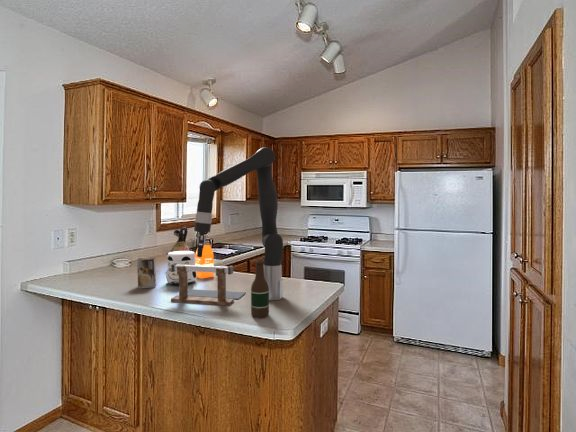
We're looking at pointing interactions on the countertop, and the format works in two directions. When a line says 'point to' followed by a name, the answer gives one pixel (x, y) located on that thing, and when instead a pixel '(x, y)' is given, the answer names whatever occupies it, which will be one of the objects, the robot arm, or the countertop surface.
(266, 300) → the beer bottle
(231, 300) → the walnut rack
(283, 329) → the countertop surface
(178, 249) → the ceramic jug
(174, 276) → the milk container
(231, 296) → the grey long flat board
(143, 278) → the coffee box
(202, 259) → the orange juice
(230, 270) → the steel rail
